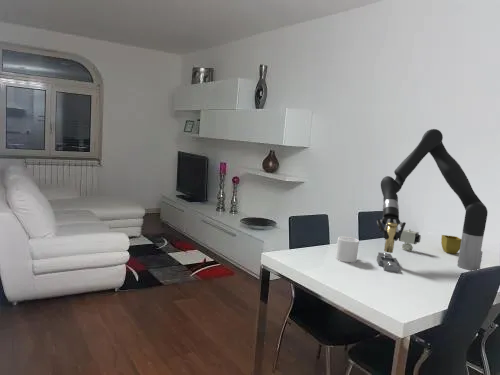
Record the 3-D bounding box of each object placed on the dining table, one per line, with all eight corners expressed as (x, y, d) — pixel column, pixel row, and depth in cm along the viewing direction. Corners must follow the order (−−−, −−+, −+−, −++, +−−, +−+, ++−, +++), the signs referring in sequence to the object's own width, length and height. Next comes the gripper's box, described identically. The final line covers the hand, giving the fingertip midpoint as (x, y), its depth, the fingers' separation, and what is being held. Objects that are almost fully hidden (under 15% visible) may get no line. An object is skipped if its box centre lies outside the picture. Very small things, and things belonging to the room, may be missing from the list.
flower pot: (454, 251, 229) (456, 236, 228) (461, 255, 220) (463, 240, 219) (439, 249, 229) (441, 234, 228) (444, 253, 221) (447, 238, 220)
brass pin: (392, 250, 191) (397, 223, 189) (394, 253, 186) (398, 224, 184) (382, 249, 191) (386, 221, 190) (384, 252, 187) (388, 223, 185)
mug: (348, 264, 184) (351, 242, 183) (331, 258, 191) (333, 237, 190) (363, 260, 192) (365, 240, 191) (346, 254, 200) (348, 235, 198)
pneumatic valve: (416, 253, 216) (419, 232, 214) (395, 248, 223) (398, 227, 221) (419, 251, 220) (422, 230, 219) (397, 246, 227) (400, 226, 226)
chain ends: (393, 259, 200) (393, 253, 199) (401, 273, 177) (402, 266, 177) (374, 256, 201) (375, 250, 201) (380, 270, 179) (381, 263, 178)
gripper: (377, 204, 194) (377, 233, 184) (407, 207, 192) (408, 237, 182) (374, 212, 200) (374, 241, 190) (403, 216, 198) (404, 245, 188)
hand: (391, 239), depth 186 cm, fingers closed on brass pin, 4 cm apart
